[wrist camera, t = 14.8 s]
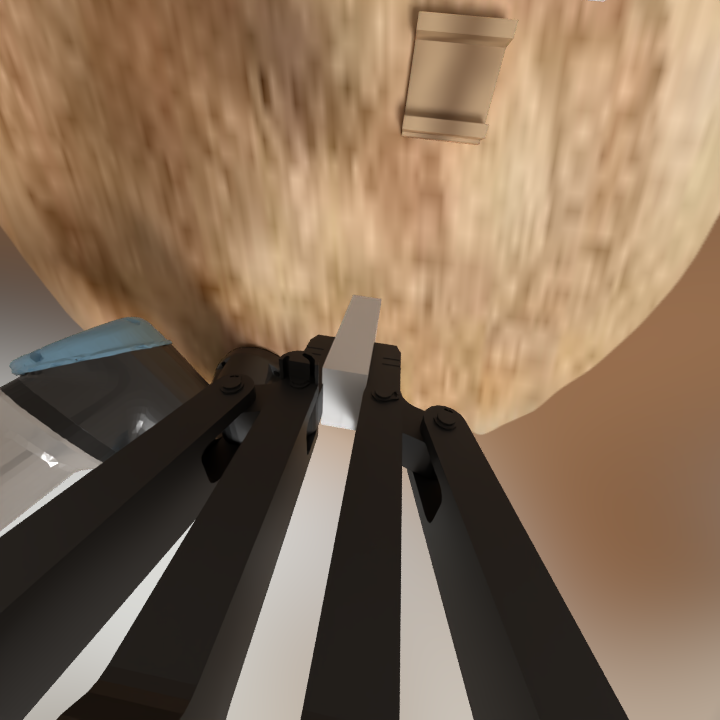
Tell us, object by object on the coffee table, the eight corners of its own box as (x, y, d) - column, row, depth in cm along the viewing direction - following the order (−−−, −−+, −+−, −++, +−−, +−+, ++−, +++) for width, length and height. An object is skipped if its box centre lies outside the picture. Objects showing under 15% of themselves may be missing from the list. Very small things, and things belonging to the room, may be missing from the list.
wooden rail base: (401, 136, 29) (401, 132, 27) (418, 22, 24) (419, 5, 22) (477, 144, 29) (484, 142, 26) (508, 30, 24) (520, 14, 22)
